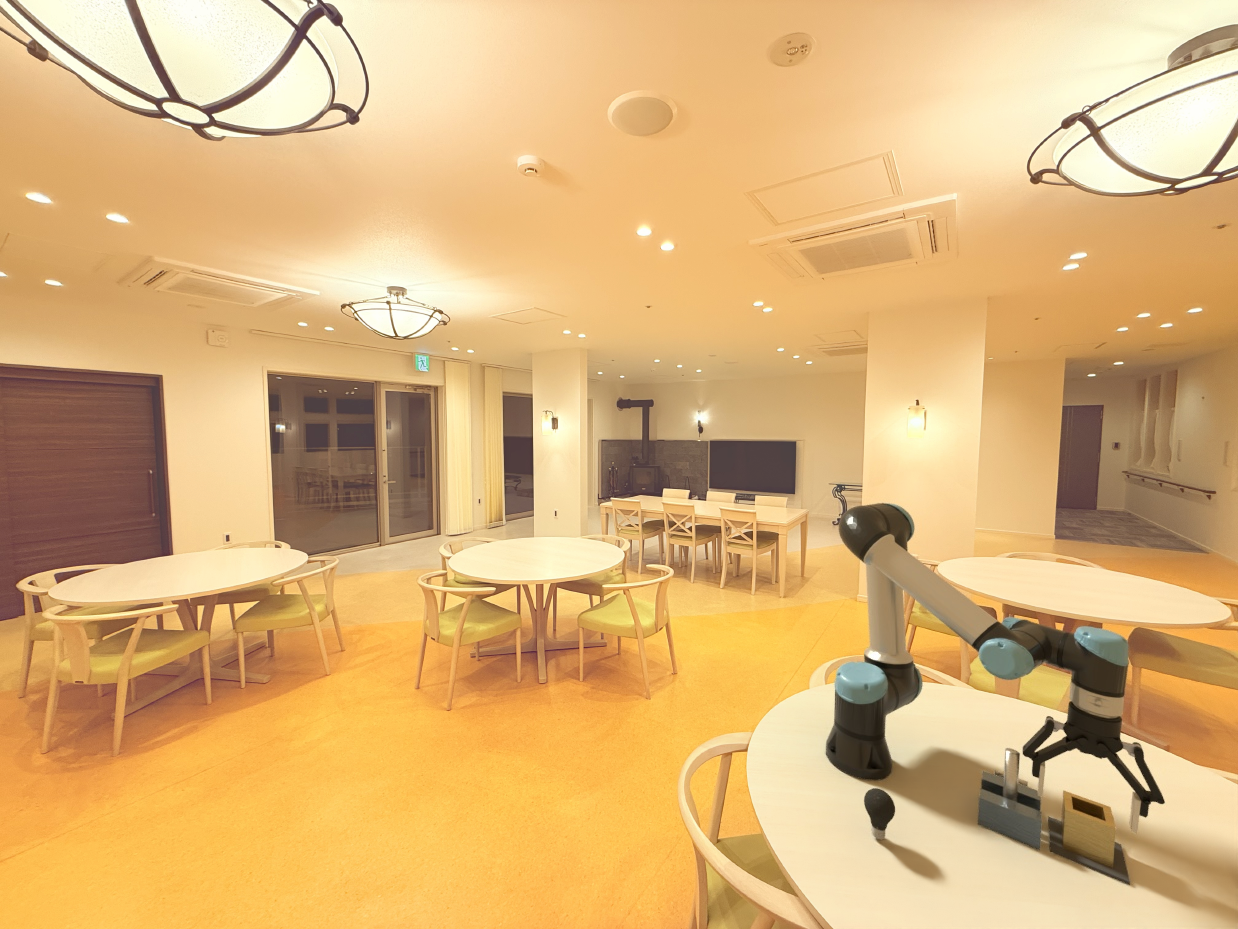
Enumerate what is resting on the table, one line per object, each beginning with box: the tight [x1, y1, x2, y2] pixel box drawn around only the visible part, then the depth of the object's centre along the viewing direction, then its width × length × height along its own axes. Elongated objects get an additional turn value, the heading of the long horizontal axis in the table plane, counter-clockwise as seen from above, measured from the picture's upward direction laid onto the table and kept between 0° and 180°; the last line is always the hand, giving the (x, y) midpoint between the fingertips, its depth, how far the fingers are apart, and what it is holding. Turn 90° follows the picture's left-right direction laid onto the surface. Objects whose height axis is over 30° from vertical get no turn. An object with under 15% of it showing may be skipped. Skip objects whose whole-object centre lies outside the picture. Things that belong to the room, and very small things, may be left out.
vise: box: [977, 747, 1043, 852], centre depth 106 cm, size 10×18×16 cm, turn 140°
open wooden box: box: [1060, 790, 1116, 868], centre depth 96 cm, size 7×7×8 cm
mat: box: [1047, 816, 1131, 886], centre depth 96 cm, size 11×11×1 cm
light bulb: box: [863, 787, 896, 841], centre depth 98 cm, size 6×6×10 cm
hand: (1084, 810), depth 96 cm, fingers open, 13 cm apart
